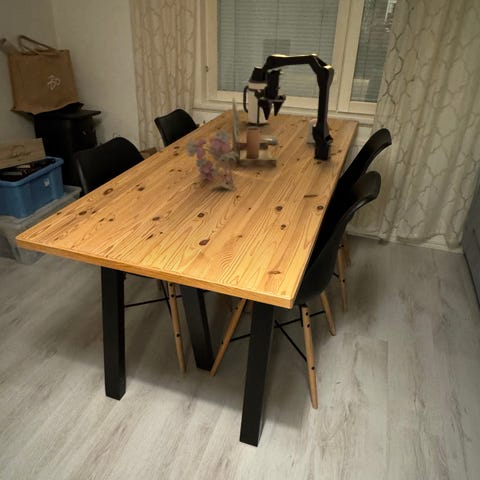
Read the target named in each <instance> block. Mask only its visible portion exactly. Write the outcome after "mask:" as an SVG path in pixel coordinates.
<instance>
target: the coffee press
mask: <svg viewBox="0 0 480 480" xmlns="http://www.w3.org/2000/svg"><path fill="white" fill-rule="evenodd" d="M247 82H248V85H245V86H244V87H243V94H242V106H243V111H245V113H246V114H247V119H246V120H245V124H246V125H247V124H249V123H252V124H256V127H259V128H260V124H265V123H267V124H268V125H270V124H271V121H270V120H269V119H268V120H265V116H264V112H263V109H262V108H261V107H259V105H257V101H258V100H259V99H261V98H259V99H256V97H255V96H254V93H255V90H258V89H259V90H260V91H262V90H264V88H265V87H266V86H267V81H266V82H265V83H257V82H253V81H252V79H251V76H249V78H248V81H247ZM247 91H248V92H247ZM247 93H248V96H247ZM262 98H263V97H262ZM247 121H248V122H247ZM268 122H269V123H268Z"/></svg>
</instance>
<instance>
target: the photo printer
mask: <svg viewBox="0 0 480 480" xmlns="http://www.w3.org/2000/svg"><path fill="white" fill-rule="evenodd" d="M327 122H328V123H329V120H328V119H327ZM316 123H317V118H313V119H309V122H308V130H307V138H306V139H307V140H306V142H307V143H308V144H315V140H314V139H313V135H311V134H312V126H313V125H315V124H316Z"/></svg>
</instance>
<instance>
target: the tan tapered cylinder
mask: <svg viewBox="0 0 480 480" xmlns="http://www.w3.org/2000/svg"><path fill="white" fill-rule="evenodd" d="M260 136H261V128H260V126H259V127H257V125H256V126H254V125H253V126H252V125H250V126H247V127H246V142H247V144H246V157H247V158H251V159H255V158H259V145H260Z"/></svg>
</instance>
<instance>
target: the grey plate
mask: <svg viewBox="0 0 480 480" xmlns="http://www.w3.org/2000/svg"><path fill="white" fill-rule="evenodd" d="M260 141H268V146H276V145H278V144H279V138H278V137H277V136H275V135H267V134H266V135H263V134H262V135H260Z"/></svg>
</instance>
